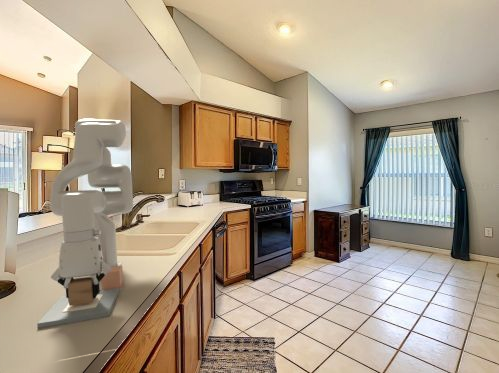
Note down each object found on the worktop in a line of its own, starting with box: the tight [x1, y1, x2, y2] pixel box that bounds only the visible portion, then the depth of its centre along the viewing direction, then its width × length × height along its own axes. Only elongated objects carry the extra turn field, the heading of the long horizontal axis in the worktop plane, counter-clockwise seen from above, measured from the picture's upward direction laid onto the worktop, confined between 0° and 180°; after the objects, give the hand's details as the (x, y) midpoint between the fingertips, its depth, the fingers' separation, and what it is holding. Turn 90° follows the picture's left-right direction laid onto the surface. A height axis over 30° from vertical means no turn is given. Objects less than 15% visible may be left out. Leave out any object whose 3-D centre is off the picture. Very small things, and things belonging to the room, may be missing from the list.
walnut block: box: [68, 275, 94, 306], centre depth 75 cm, size 6×6×6 cm
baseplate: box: [36, 287, 121, 329], centre depth 75 cm, size 16×16×1 cm
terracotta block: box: [100, 265, 124, 290], centre depth 89 cm, size 6×6×6 cm
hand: (83, 297), depth 75 cm, fingers closed on walnut block, 5 cm apart
